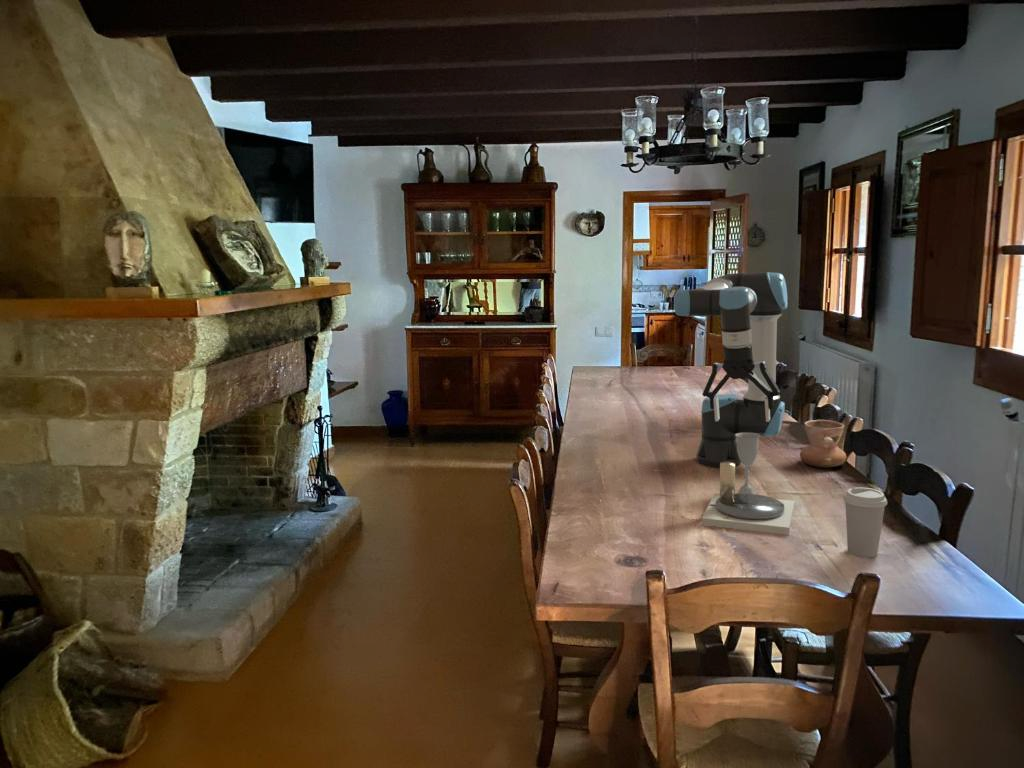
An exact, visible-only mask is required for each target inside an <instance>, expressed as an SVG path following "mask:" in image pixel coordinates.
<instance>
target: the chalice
mask: <svg viewBox="0 0 1024 768" xmlns="http://www.w3.org/2000/svg"><path fill="white" fill-rule="evenodd" d="M736 437H737V438H736V440H737V453H738V456H739V458H740V460H741V464H742V465H743V466H745V467H744V468H745V469H744V474H745V475H744V477H743V479H744V481H745V482H744V484H742V485H741V486H740V488H739V490H738V491H737V494H756V492H755V489H754V486H752V485H750V483H749V480H750V478H751V477H750V475H749V474H750V473H751V471H750V469H749V467H750V466H752V465H753V464H754V462H755V460H756V458H757V455H758V453H759V443H760V441H759V439H760V437H761V436H760V434H757V433H749V432H745V433H737V434H736Z"/></svg>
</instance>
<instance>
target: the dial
mask: <svg viewBox="0 0 1024 768" xmlns="http://www.w3.org/2000/svg"><path fill="white" fill-rule="evenodd" d="M735 492H736V466H735V463H733V462H721V463H720V467H719V494H720V498H718V499H717V500H716V509H717V510H718V511H719V512H721V513H723V514H725V515H728V516H731V517H735V518H741V519H750V520H764V519H772V518H776V517H779V516H781V515H782V514H783V513H784V504H783V503H782V502H780V501H779V500H780V499H779V500H776V499H777V498H774V497H771V496H768V495H762V494H756V493H755V494H738V493H735Z"/></svg>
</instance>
